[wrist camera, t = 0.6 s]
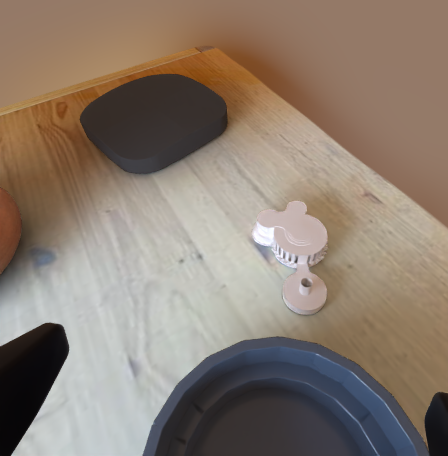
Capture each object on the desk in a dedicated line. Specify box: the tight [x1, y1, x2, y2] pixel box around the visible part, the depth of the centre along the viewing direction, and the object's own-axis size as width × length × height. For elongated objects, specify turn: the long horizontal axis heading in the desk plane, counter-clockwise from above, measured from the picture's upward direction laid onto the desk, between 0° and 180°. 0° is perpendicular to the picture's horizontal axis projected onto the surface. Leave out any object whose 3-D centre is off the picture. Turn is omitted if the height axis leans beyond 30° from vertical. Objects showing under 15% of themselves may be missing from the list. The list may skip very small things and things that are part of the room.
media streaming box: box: [80, 74, 228, 174], centre depth 40 cm, size 15×15×3 cm
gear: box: [252, 197, 328, 315], centre depth 28 cm, size 9×9×2 cm
